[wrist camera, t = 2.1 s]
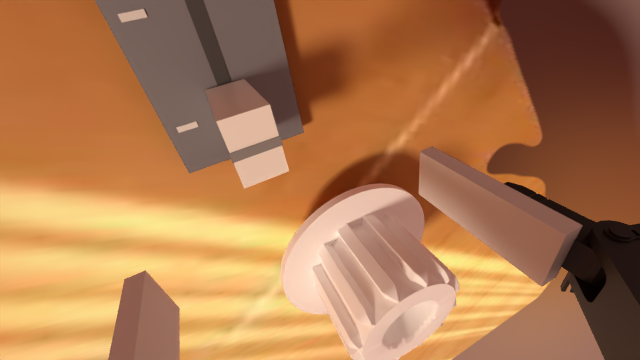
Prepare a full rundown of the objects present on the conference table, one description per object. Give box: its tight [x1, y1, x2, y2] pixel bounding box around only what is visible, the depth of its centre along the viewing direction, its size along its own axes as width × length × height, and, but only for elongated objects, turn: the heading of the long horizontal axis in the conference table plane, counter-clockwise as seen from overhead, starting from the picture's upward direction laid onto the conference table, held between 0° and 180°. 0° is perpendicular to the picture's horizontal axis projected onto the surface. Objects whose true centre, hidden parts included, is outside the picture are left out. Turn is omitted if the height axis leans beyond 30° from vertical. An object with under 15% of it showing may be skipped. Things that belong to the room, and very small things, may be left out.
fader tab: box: [205, 79, 289, 188], centre depth 25 cm, size 4×6×10 cm
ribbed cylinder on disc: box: [280, 184, 459, 360], centre depth 41 cm, size 25×25×19 cm
